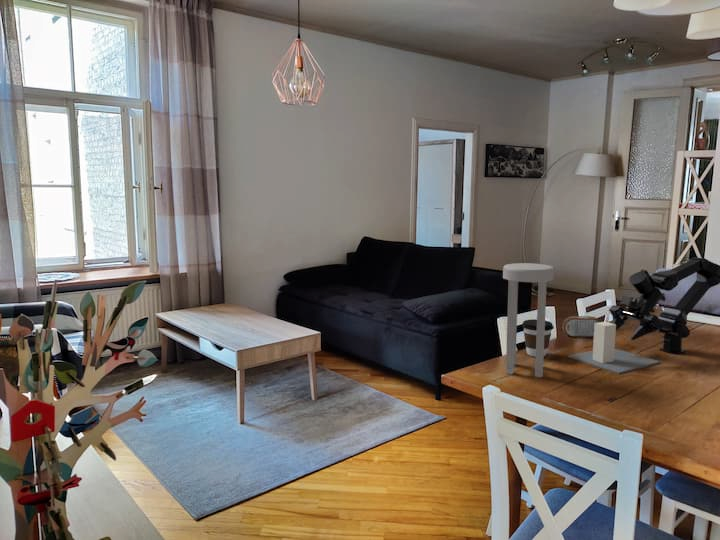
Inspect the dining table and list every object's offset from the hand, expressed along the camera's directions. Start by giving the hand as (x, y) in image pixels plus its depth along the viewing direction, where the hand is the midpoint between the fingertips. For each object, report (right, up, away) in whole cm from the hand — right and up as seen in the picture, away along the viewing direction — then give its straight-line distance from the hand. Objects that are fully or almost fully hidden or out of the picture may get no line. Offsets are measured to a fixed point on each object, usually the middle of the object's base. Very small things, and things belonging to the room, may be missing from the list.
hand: (621, 335), depth 184 cm
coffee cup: (-27, -8, +7) cm, 29 cm away
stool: (-36, -11, -9) cm, 39 cm away
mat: (-3, -9, 0) cm, 9 cm away
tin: (-1, -4, +30) cm, 31 cm away
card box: (-7, -8, -2) cm, 11 cm away
